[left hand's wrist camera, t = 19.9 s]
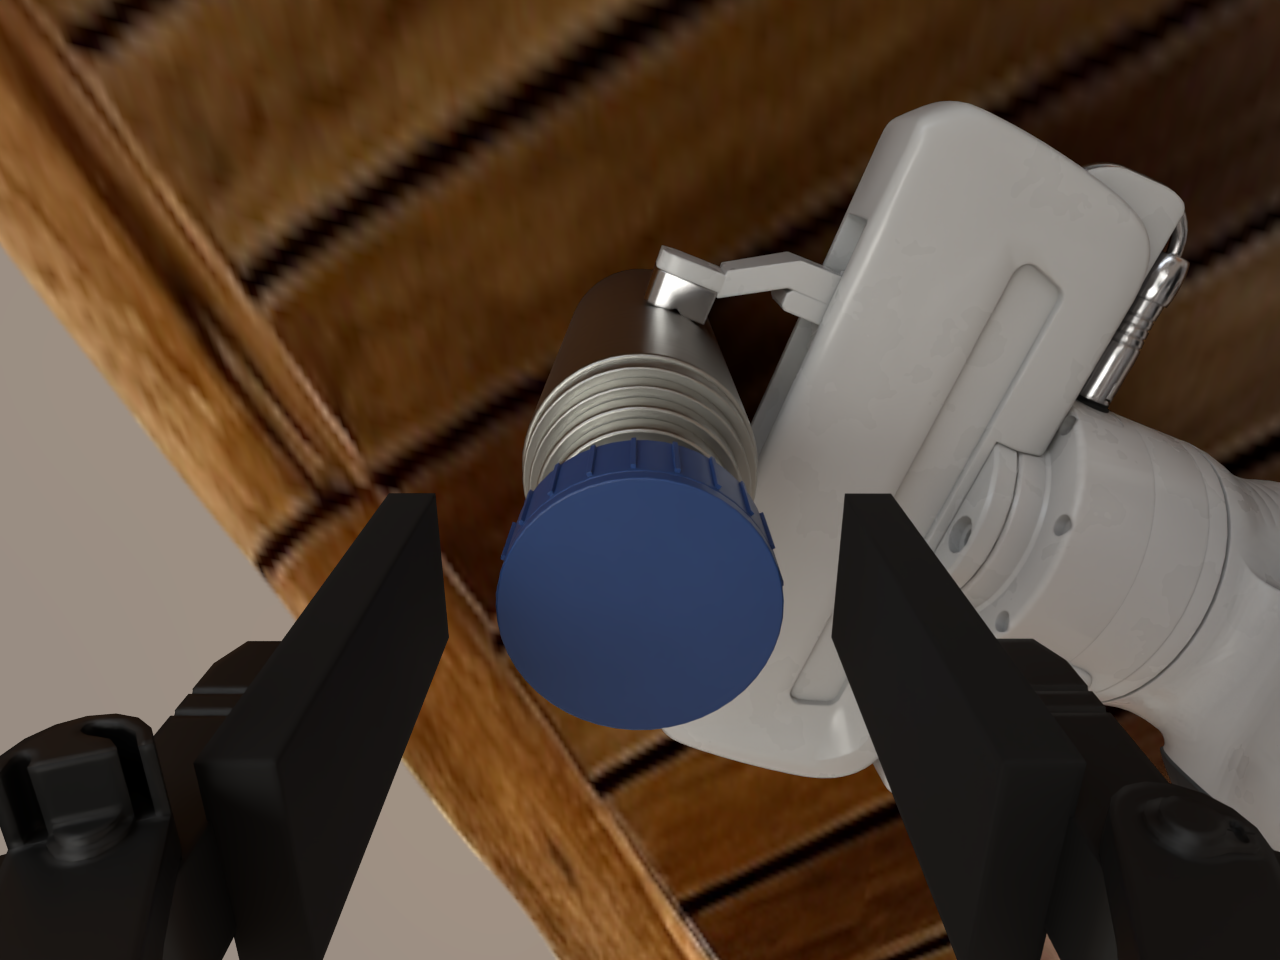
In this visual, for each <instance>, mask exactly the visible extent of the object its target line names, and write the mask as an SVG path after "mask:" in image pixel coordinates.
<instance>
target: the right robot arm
mask: <svg viewBox="0 0 1280 960" xmlns="http://www.w3.org/2000/svg"><path fill="white" fill-rule="evenodd" d="M1187 235H1188V220H1187V216H1186V212H1185V208H1184V203H1183V201H1182V200H1181V198H1180V197H1179V196H1178V195H1177V194H1176V193H1175V192H1174V191H1173V190H1172V189H1171V188H1169V187H1168V186H1167V185H1165V184H1164V183H1162V182H1160V181H1157V180H1155V179H1153V178H1151V177H1148V176H1146V175H1144V174H1142V173H1139V172H1137V171H1135V170H1133V169H1131V168H1128V167H1126V166H1124V165H1122V164H1117V163H1113V162H1096V163H1089V164H1086V165H1083V166H1079V165H1078V164H1076V163H1075V162H1073V161H1072V160H1070V159H1069V158H1067V157H1066V156H1064V155H1063V154H1061V153H1060V152H1058V151H1057V150H1055V149H1054V148H1052V147H1051V146H1049V145H1047V144H1046V143H1044V142H1043V141H1041V140H1039V139H1038V138H1036V137H1034V136H1033V135H1031V134H1029V133H1027V132H1026V131H1024V130H1022V129H1021V128H1019V127H1017V126H1015V125H1013V124H1011V123H1009V122H1007V121H1006V120H1004V119H1002V118H1000V117H998V116H996V115H994V114H992V113H990V112H988V111H986V110H984V109H982V108H979V107H977V106H975V105H972V104H969V103H964V102H958V101H941V102H936V103H931V104H928V105H925V106H922V107H920V108H917V109H915V110H912V111H910V112H907V113H905V114H903V115H900V116H898V117H896V118H894V119H893V120H891V121H890V122H889V123H888V124H887V126H886V127H885V129H884V131H883V133H882V135H881V137H880V139H879V141H878V143H877V146H876V148H875V150H874V152H873V154H872V157H871V159H870V161H869V163H868V165H867V168H866V170H865V172H864V174H863V176H862V179H861V181H860V183H859V185H858V188H857V190H856V192H855V194H854V196H853V199H852V201H851V203H850V205H849V207H848V210H847V212H846V214H845V216H844V218H843V221H842V223H841V225H840V227H839V230H838V232H837V234H836V236H835V238H834V241H833V243H832V245H831V247H830V249H829V252H828V254H827V256H826V258H825V260H824V263H823V265H820V264H818V263H815V262H813V261H810V260H808V259H805V258H803V257H800V256H798V255H795V254H793V253H790V252H782V253H776V254H770V255H764V256H758V257H752V258H746V259H740V260H734V261H728V262H722V263H721V265H720V267H719V266H717V265H714V264H712V263H709V262H707V261H704V260H702V259H699V258H697V257H694V256H692V255H689V254H687V253H684V252H682V251H679V250H677V249H674V248H670V247H667V246H663V245H662V247H661V249H660V252H659V255H658V258H657V260H656V262H655V265H654V268H653V271H652V273H651V276H650V279H649V282H648V285H647V287H646V290H645V293H644V300H645V301H647V302H648V303H650V304H652V305H654V306H656V307H659V308H663V309H667V310H670V309H674V308H677V310H678V311H679V313H680V315H682V316H684V317H686V318H688V319H690V320H692V321H695V322H698V323H700V324H703V325H704V323H705V321H706V318H707V316H708V314H709V312H710V309H711V307H712V305H713V302H714V300H715V298H716V297H717V298H723V297H730V296H737V295H744V294H751V293H758V292H765V291H772V292H771V295H772V298H773V299H774V300H775V301H776V302H777V303H778V304H779V306H780V307H781V308H782V309H783V310H784V311H786V312H789V313H791V314H793V315H796V316H798V317H799V318H798V320H797V322H796V325H795V327H794V329H793V331H792V333H791V336H790V338H789V340H788V342H787V344H786V347H785V349H784V351H783V353H782V355H781V358H780V360H779V362H778V364H777V367H776V369H775V371H774V373H773V375H772V378H771V380H770V382H769V384H768V386H767V389H766V391H765V393H764V395H763V397H762V400H761V402H760V404H759V406H758V409H757V411H756V413H755V415H754V417H753V420H752V422H751V424H750V425H751V427H752V431H753V434H754V437H755V441H756V448H757V455H758V472H757V487H756V494H755V499H754V503H755V505H756V507H757V508H758V511H759V513H761V512H763V513H764V515H765V518H766V521H767V524H768V527H769V530H770V533H771V536H772V539H773V542H774V545H775V549H773V551H774V554H775V557H776V560H777V563H778V566H779V569H780V572H781V575H782V578H783V581H784V586H783V596H784V610H783V620H782V625H781V630H780V634H779V637H778V640H777V643H776V645H775V648H774V650H773V652H772V654H771V656H770V658H769V660H768V662H767V664H766V665H765V667H764V668H763V669H762V671H761V672H760V674H759V675H758V676H757V678H756V679H755V680H754V681H753V682H752V683H751V684H750V685H749V686H748V687H747V688H746V689H745V690H744V691H743V692H742V693H741V694H740V695H738V696H737V697H736V698H735V699H734V700H732V701H731V702H729V703H728V704H726V705H725V706H723V707H722V708H720V709H719V710H717V711H715V712H713V713H711V714H709V715H707V716H704V717H702V718H700V719H697V720H694V721H691V722H689V723H686V724H682V725H677V726H673V727H669V728H661V729H662V730H663V732H664V733H665V734H666V735H668V736H669V737H670V738H672V739H674V740H676V741H678V742H680V743H682V744H685V745H687V746H690V747H693V748H696V749H698V750H702V751H705V752H708V753H711V754H714V755H718V756H721V757H725V758H728V759H732V760H735V761H739V762H742V763H746V764H750V765H754V766H758V767H762V768H766V769H770V770H775V771H779V772H784V773H789V774H794V775H799V776H805V777H813V778H836V777H842V776H847V775H850V774H853V773H856V772H859V771H861V770H863V769H865V768H866V767H868V766H869V765H871V764H872V763H873V764H874V766H875V768H876V770H877V772H878V774H879V776H880V777H881V779H882V781H883V783H884V784H885V786H886V788H887V789H888V790H889V791H890V792H892V791H891V789H890V786H889V784H888V781H887V779H886V776H885V774H884V771H883V768H882V766H881V763H880V761H879V758H878V756H877V753H876V751H875V748H874V745H873V743H872V740H871V738H870V735H869V733H868V730H867V728H866V725H865V722H864V720H863V717H862V715H861V712H860V710H859V707H858V705H857V702H856V699H855V697H854V694H853V692H852V689H851V687H850V684H849V682H848V679H847V676H846V674H845V671H844V669H843V666H842V664H841V661H840V659H839V656H838V653H837V651H836V648H835V646H834V643H833V641H832V638H831V634H832V624H833V613H834V602H835V592H836V581H837V571H838V560H839V549H840V539H841V528H842V518H843V507H844V496H845V493H891V494H892V496H893V497H894V498H895V500H896V501H897V502H898V504H899V505H900V507H901V508H902V509H903V511H904V512H905V513H906V515H907V516H908V518H909V519H910V520H911V522H912V523H913V524H914V526H915V527H916V529H917V530H918V531H919V533H920V534H921V535H922V537H923V538H924V540H925V541H926V542H927V544H928V545H929V546H930V548H931V549H932V551H933V552H934V553H935V555H936V556H937V557H938V559H939V560H940V562H941V563H942V564H943V566H944V567H945V568H946V570H947V571H948V573H949V574H950V575H951V577H952V578H953V579H954V581H955V582H956V584H957V585H958V586H959V588H960V589H961V590H962V592H963V593H964V595H965V596H966V597H967V599H968V600H969V601H970V603H971V604H972V606H973V607H974V608H975V610H976V611H977V612H978V614H979V615H980V617H981V618H982V619H983V621H984V622H985V623H986V625H987V626H988V628H989V629H990V630H991V632H992V633H993V634H994V636H995V637H996V639H1034V640H1036V641H1037V642H1039V643H1040V644H1042V645H1044V646H1045V647H1047V648H1048V649H1050V650H1051V651H1053V652H1054V653H1056V654H1057V655H1059V656H1061V657H1062V658H1064V659H1065V660H1067V661H1068V663H1069V664H1070V665H1071V666H1072V667H1073V669H1074V670H1075V671H1076V672H1077V673H1078V675H1079V676H1080V677H1081V678H1082V679H1083V681H1084V682H1085V683H1086V684H1087V685H1088V691H1093V693H1094V694H1095V695H1096V696H1097V697H1098V699H1099V700H1100V701H1101V702H1102V703H1103V705H1108V706H1114V707H1119V708H1122V709H1125V710H1128V711H1130V712H1133V713H1134V714H1136V715H1138V716H1140V717H1142V718H1143V719H1145V720H1146V721H1148V722H1149V723H1151V724H1152V725H1153V726H1155V727H1156V728H1157V729H1159V730H1160V732H1161V733H1162V735H1163V737H1164V741H1165V744H1164V746H1163V747H1161V748H1160V751H1161V755H1162V759H1163V762H1164V765H1165V768H1166V770H1167V773H1168V775H1169V777H1170V780H1171V782H1172V784H1175V785H1179V786H1182V787H1185V788H1188V789H1192V790H1195V791H1198V792H1201V793H1204V794H1206V795H1208V796H1210V797H1212V798H1214V799H1216V800H1218V801H1220V802H1222V803H1223V804H1225V805H1227V806H1229V807H1231V808H1233V809H1234V810H1236V811H1237V812H1238V813H1239V814H1241V815H1242V816H1243V817H1244V818H1246V819H1247V820H1248V821H1249V822H1251V823H1252V824H1253V825H1254V826H1256V827H1257V828H1258V830H1259V831H1260V832H1261V834H1262V835H1263V837H1264V838H1265V839H1266V841H1267V842H1268V844H1269V845H1270V847H1271V848H1272V850H1275V851H1279V852H1280V482H1274V481H1269V480H1256V479H1243V478H1239V477H1237V476H1235V475H1233V474H1232V473H1230V472H1229V471H1228V470H1227V469H1226V468H1225V467H1224V466H1223V465H1221V464H1220V463H1219V462H1218V461H1217V460H1215V459H1214V458H1213V457H1212V456H1210V455H1209V454H1208V453H1206V452H1204V451H1202V450H1201V449H1199V448H1197V447H1195V446H1193V445H1191V444H1190V443H1188V442H1185V441H1183V440H1179V439H1177V438H1175V437H1172V436H1170V435H1167V434H1165V433H1162V432H1160V431H1157V430H1154V429H1152V428H1149V427H1147V426H1144V425H1142V424H1139V423H1137V422H1134V421H1132V420H1130V419H1127V418H1125V417H1122V416H1120V415H1117V414H1115V413H1113V412H1111V411H1110V410H1108V409H1107V408H1108V406H1109V405H1110V403H1111V401H1112V400H1113V398H1114V396H1115V395H1116V393H1117V392H1118V390H1119V388H1120V387H1121V385H1122V383H1123V382H1124V380H1125V378H1126V377H1127V375H1128V373H1129V372H1130V370H1131V368H1132V367H1133V365H1134V363H1135V361H1136V359H1137V357H1138V356H1139V354H1140V351H1139V350H1140V349H1142V347H1143V345H1144V343H1145V342H1144V340H1146V338H1147V336H1148V334H1149V333H1148V331H1150V330H1151V328H1152V326H1153V325H1154V323H1153V322H1154V321H1156V320H1157V318H1158V317H1159V315H1160V313H1161V312H1162V310H1163V309H1164V308H1167V307H1168V306H1169V304H1170V303H1171V302H1172V300H1173V299H1174V297H1175V296H1176V294H1177V293H1178V291H1179V289H1180V287H1181V286H1182V284H1183V281H1184V279H1185V277H1186V274H1187V271H1188V268H1189V265H1190V263H1189V262H1188V261H1187V260H1186V259H1183V258H1181V257H1182V254H1183V252H1184V249H1185V245H1186V241H1187ZM1169 238H1170V240H1169V244H1168V248H1167V251H1166V252H1164V251H1162V250H1163V248H1164V246H1165V245H1166V243H1167V241H1168V239H1169Z"/></svg>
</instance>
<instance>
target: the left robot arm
mask: <svg viewBox="0 0 1280 960" xmlns="http://www.w3.org/2000/svg"><path fill="white" fill-rule="evenodd" d="M448 638H449V634H448V624H447V613H446V602H445V592H444V581H443V571H442V560H441V549H440V539H439V528H438V518H437V507H436V496H435V493H389V494H388V496H387V497H386V498H385V500H384V501H383V502H382V504H381V505H380V507H379V508H378V509H377V511H376V512H375V513H374V515H373V516H372V518H371V519H370V520H369V522H368V523H367V524H366V526H365V527H364V529H363V530H362V531H361V533H360V534H359V535H358V537H357V538H356V540H355V541H354V542H353V544H352V545H351V546H350V548H349V549H348V551H347V552H346V553H345V555H344V556H343V557H342V559H341V560H340V562H339V563H338V564H337V566H336V567H335V568H334V570H333V571H332V573H331V574H330V575H329V577H328V578H327V579H326V581H325V582H324V584H323V585H322V586H321V588H320V589H319V590H318V592H317V593H316V595H315V596H314V597H313V599H312V600H311V601H310V603H309V604H308V606H307V607H306V608H305V610H304V611H303V612H302V614H301V615H300V617H299V618H298V619H297V621H296V622H295V623H294V625H293V626H292V628H291V629H290V630H289V632H288V633H287V634H286V636H285V637H284V639H283V640H282V641H247V642H246V643H244V644H243V645H241V646H240V647H238V648H237V649H235V650H234V651H232V652H230V653H229V654H227V655H226V656H224V657H223V658H221V659H220V660H218V661H217V662H215V663H214V664H213V665H212V666H211V667H210V669H209V670H208V671H207V672H206V674H205V675H204V676H203V677H202V678H201V679H200V681H199V682H198V683H197V684H196V685H195V687H194V688H193V693H192V694H188V695H187V696H186V698H185V699H184V700H183V701H182V702H181V704H180V705H179V706H178V707H177V709H176V710H175V715H174V716H170V717H169V718H168V719H167V721H166V722H165V723H164V724H163V725H162V727H161V728H160V729H159V730H158V732H157V733H156V734H155V735H154V736H153V733H152V729H151V727H150V726H148V725H147V724H146V723H145V722H143V721H142V720H141V719H139V718H137V717H132V716H126V715H121V714H105V715H94V716H86V717H82V718H78V719H75V720H71V721H67V722H64V723H60V724H56V725H54V726H52V727H49V728H47V729H45V730H43V731H41V732H39V733H36V734H34V735H32V736H30V737H28V738H25V739H24V740H22V741H21V742H19V743H18V744H17V745H15V746H14V747H12V748H11V749H9V750H8V751H6V752H5V753H4V754H2V755H1V756H0V828H1V831H2V833H3V836H4V839H5V842H6V845H7V848H8V852H7V854H4V855H1V856H0V960H222V959H223V957H224V955H225V953H226V951H227V949H228V947H229V945H230V943H231V941H232V939H233V937H234V939H235V943H236V947H237V951H238V956H239V960H323V958H324V955H325V953H326V950H327V948H328V945H329V942H330V940H331V937H332V935H333V932H334V930H335V927H336V924H337V922H338V919H339V917H340V914H341V912H342V909H343V907H344V904H345V901H346V899H347V896H348V894H349V891H350V889H351V886H352V884H353V881H354V878H355V876H356V873H357V871H358V868H359V865H360V863H361V860H362V858H363V855H364V853H365V850H366V848H367V845H368V843H369V840H370V838H371V835H372V832H373V830H374V827H375V825H376V822H377V820H378V817H379V815H380V812H381V809H382V807H383V804H384V802H385V799H386V797H387V794H388V791H389V789H390V786H391V784H392V781H393V779H394V776H395V773H396V771H397V768H398V766H399V763H400V761H401V758H402V756H403V753H404V751H405V748H406V745H407V743H408V740H409V738H410V735H411V733H412V730H413V728H414V725H415V722H416V720H417V717H418V715H419V712H420V710H421V707H422V705H423V702H424V699H425V697H426V694H427V692H428V689H429V687H430V684H431V682H432V679H433V676H434V674H435V671H436V669H437V666H438V664H439V661H440V659H441V656H442V653H443V651H444V648H445V646H446V643H447V641H448ZM831 638H832V641H833V643H834V646H835V648H836V651H837V653H838V656H839V659H840V661H841V664H842V666H843V669H844V671H845V674H846V676H847V679H848V682H849V684H850V687H851V689H852V692H853V694H854V697H855V699H856V702H857V705H858V707H859V710H860V712H861V715H862V717H863V720H864V722H865V725H866V728H867V730H868V733H869V735H870V738H871V740H872V743H873V745H874V748H875V751H876V753H877V756H878V758H879V761H880V763H881V766H882V768H883V771H884V774H885V776H886V779H887V781H888V784H889V786H890V789H891V791H892V794H893V797H894V799H895V802H896V804H897V807H898V809H899V812H900V815H901V817H902V820H903V822H904V825H905V827H906V830H907V832H908V835H909V838H910V840H911V843H912V845H913V848H914V850H915V853H916V855H917V858H918V861H919V863H920V866H921V868H922V871H923V873H924V876H925V878H926V881H927V884H928V886H929V889H930V891H931V894H932V896H933V899H934V901H935V904H936V907H937V909H938V912H939V914H940V917H941V919H942V922H943V924H944V927H945V930H946V932H947V935H948V937H949V940H950V942H951V945H952V948H953V950H954V953H955V955H956V958H957V960H1041V956H1042V952H1043V947H1044V943H1045V939H1046V935H1048V937H1049V939H1050V941H1051V943H1052V945H1053V947H1054V948H1055V950H1056V952H1057V954H1058V956H1059V958H1060V960H1280V852H1279V851H1275V850H1272V848H1271V847H1270V845H1269V844H1268V842H1267V841H1266V839H1265V838H1264V837H1263V835H1262V834H1261V832H1260V831H1259V830H1258V828H1257V827H1256V826H1254V825H1253V824H1252V823H1251V822H1249V821H1248V820H1247V819H1246V818H1244V817H1243V816H1242V815H1241V814H1239V813H1238V812H1237V811H1236V810H1234V809H1233V808H1231V807H1229V806H1227V805H1225V804H1223V803H1222V802H1220V801H1218V800H1216V799H1214V798H1212V797H1210V796H1208V795H1206V794H1204V793H1201V792H1198V791H1195V790H1192V789H1188V788H1185V787H1182V786H1179V785H1175V784H1169V783H1168V781H1167V780H1166V779H1165V778H1164V777H1163V775H1162V774H1161V773H1160V772H1159V771H1158V769H1157V768H1156V767H1155V766H1154V765H1153V763H1152V762H1151V761H1150V760H1149V759H1148V757H1147V756H1146V755H1145V754H1144V753H1143V751H1142V750H1141V749H1140V748H1139V747H1138V745H1137V744H1136V743H1135V742H1134V741H1133V739H1132V738H1131V737H1130V736H1129V735H1128V733H1127V732H1126V731H1125V730H1124V729H1123V727H1122V726H1121V725H1120V724H1119V723H1118V721H1117V720H1116V719H1115V718H1114V717H1113V715H1112V714H1111V713H1106V707H1105V706H1104V705H1103V703H1102V702H1101V701H1100V700H1099V699H1098V697H1097V696H1096V695H1095V694H1094V693H1093V691H1088V685H1087V684H1086V683H1085V682H1084V681H1083V679H1082V678H1081V677H1080V676H1079V675H1078V673H1077V672H1076V671H1075V670H1074V669H1073V667H1072V666H1071V665H1070V664H1069V663H1068V661H1067V660H1065V659H1064V658H1062V657H1061V656H1059V655H1057V654H1056V653H1054V652H1053V651H1051V650H1050V649H1048V648H1047V647H1045V646H1044V645H1042V644H1040V643H1039V642H1037V641H1036V640H1034V639H996V637H995V636H994V634H993V633H992V632H991V630H990V629H989V628H988V626H987V625H986V623H985V622H984V621H983V619H982V618H981V617H980V615H979V614H978V612H977V611H976V610H975V608H974V607H973V606H972V604H971V603H970V601H969V600H968V599H967V597H966V596H965V595H964V593H963V592H962V590H961V589H960V588H959V586H958V585H957V584H956V582H955V581H954V579H953V578H952V577H951V575H950V574H949V573H948V571H947V570H946V568H945V567H944V566H943V564H942V563H941V562H940V560H939V559H938V557H937V556H936V555H935V553H934V552H933V551H932V549H931V548H930V546H929V545H928V544H927V542H926V541H925V540H924V538H923V537H922V535H921V534H920V533H919V531H918V530H917V529H916V527H915V526H914V524H913V523H912V522H911V520H910V519H909V518H908V516H907V515H906V513H905V512H904V511H903V509H902V508H901V507H900V505H899V504H898V502H897V501H896V500H895V498H894V497H893V496H892V494H891V493H845V496H844V507H843V518H842V528H841V539H840V549H839V560H838V571H837V581H836V592H835V602H834V613H833V624H832V634H831Z"/></svg>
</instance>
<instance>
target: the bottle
mask: <svg viewBox="0 0 1280 960" xmlns="http://www.w3.org/2000/svg"><path fill="white" fill-rule="evenodd" d="M652 271H653V270H648V269H631V270H626V271H621V272H618V273H615V274H613V275H611V276H608V277H606V278H604V279H603V280H601V281H600V282H598V283H597V284H596V285H595V286H593V287H592V288H591V289H590V290H589V291H588V292H587V293H586V295H585V296H584V297H583V298H582V300H581V301H580V303H579V304H578V306H577V308H576V310H575V312H574V315H573V317H572V320H571V322H570V325H569V327H568V330H567V332H566V335H565V337H564V340H563V342H562V345H561V347H560V350H559V352H558V355H557V357H556V360H555V362H554V365H553V367H552V370H551V372H550V375H549V377H548V380H547V382H546V385H545V387H544V390H543V392H542V395H541V397H540V400H539V402H538V405H537V407H536V410H535V412H534V415H533V417H532V420H531V422H530V425H529V428H528V431H527V434H526V437H525V442H524V448H523V457H522V470H523V487H524V494H525V498H526V497H527V494H528V492H529V491H530V489H531V490H532V491H534V490H535V488H536V487H537V486H538V484H539V483H540V482H541V481H542V480H543V479H544V478H545V477H546V476H547V475H548V474H549V473H550V472H552V471H553V470H554V467H555V465H556V464H557V463H560V464H562V463H563V462H565V461H567V460H569V459H570V458H572V457H574V456H576V455H577V454H580V453H582V452H584V451H587V450H589V449H590V447H591V446H592V445H596V447H598V446H601V445H605V444H609V443H613V442H620V441H627V440H631V438H636V440H651V441H660V442H667V443H671V444H672V442H673V441H674V442H678V445H679V446H683V447H685V448H688V449H691V450H693V451H696V452H698V453H700V454H702V455H704V456H706V457H708V458H710V457H711V456H712V457H714V458H715V460H716V463H718V464H719V465H720V466H722V467H723V468H725V469H726V470H727V471H728V472H729V473H730V474H731V475H732V476H734V477H735V478H736V479H737V480H738V481H739V482H741V481H743V482H744V483H745V486H746V489H747V492H748V493H749V495H750V497H751V498H752V500H753V502H754V499H755V494H756V487H757V472H758V455H757V448H756V441H755V437H754V434H753V431H752V427H751V425H750V422H749V420H748V417H747V415H746V412H745V410H744V407H743V405H742V402H741V400H740V397H739V395H738V392H737V390H736V387H735V385H734V382H733V380H732V377H731V375H730V372H729V370H728V367H727V365H726V362H725V360H724V357H723V355H722V352H721V350H720V347H719V344H718V342H717V339H716V337H715V334H714V332H713V329H712V327H711V324H710V322H709V319H708V317H707V318H706V321H705V323H704V325H703V324H700V323H698V322H695V321H692V320H690V319H688V318H686V317H684V316H682V315H680V313H679V311H678V310H677V308H674V309H670V310H667V309H663V308H659V307H656V306H654V305H652V304H650V303H648V302H647V301H645V300H644V293H645V290H646V287H647V285H648V282H649V279H650V276H651V273H652Z"/></svg>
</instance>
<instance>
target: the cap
mask: <svg viewBox="0 0 1280 960" xmlns="http://www.w3.org/2000/svg"><path fill="white" fill-rule="evenodd" d="M773 549H775V545H774V542H773V539H772V536H771V533H770V530H769V527H768V524H767V521H766V518H765V515H764V513H763V512H761V513H759V511H758V508H757V507H756V505H755V503H754V502H753V500H752V498H751V497H750V495H749V493H748V492H747V489H746V486H745V483H744V482H743V481H741V482H739V481H738V480H737V479H736V478H735V477H734V476H732V475H731V474H730V473H729V472H728V471H727V470H726V469H725V468H723V467H722V466H720V465H719V464H718V463H716V460H715V458H714V457H712V456H711V457H710V458H708V457H706V456H704V455H702V454H700V453H698V452H696V451H693V450H691V449H688V448H685V447H683V446H679V445H678V442H674V441H673V442H672V444H671V443H667V442H660V441H651V440H636V438H631V440H627V441H620V442H613V443H609V444H605V445H601V446H598V447H596V445H592V446H591V447H590V449H589V450H587V451H584V452H582V453H580V454H577V455H576V456H574V457H572V458H570V459H569V460H567V461H565V462H563V463H562V464H560V463H557V464H556V465H555V467H554V470H553V471H552V472H550V473H549V474H548V475H547V476H546V477H545V478H544V479H543V480H542V481H541V482H540V483H539V484H538V486H537V487H536V488H535V490H534V491H532V490H531V489H530V491H529V492H528V494H527V497H526V500H525V503H524V506H523V509H522V510H521V513H520V515H519V518H518V521H517V523H515V522H513V523H512V526H511V529H510V532H509V535H508V538H507V541H506V544H505V547H504V550H503V553H502V556H501V559H502V560H504V563H503V565H502V569H501V572H500V576H499V581H498V585H497V591H496V611H497V622H498V626H499V630H500V634H501V638H502V640H503V643H504V645H505V648H506V650H507V653H508V655H509V656H510V658H511V660H512V662H513V663H514V665H515V667H516V668H517V670H518V671H519V672H520V674H521V675H522V676H523V677H524V679H525V680H526V681H527V682H528V683H529V684H530V685H531V686H532V687H533V688H534V689H535V690H536V691H537V692H538V693H539V694H540V695H541V696H543V697H544V698H545V699H547V700H548V701H549V702H550V703H552V704H553V705H555V706H557V707H558V708H560V709H562V710H563V711H565V712H567V713H569V714H571V715H574V716H576V717H578V718H580V719H582V720H586V721H589V722H592V723H595V724H598V725H602V726H607V727H612V728H618V729H629V730H653V729H661V728H669V727H673V726H677V725H682V724H686V723H689V722H691V721H694V720H697V719H700V718H702V717H704V716H707V715H709V714H711V713H713V712H715V711H717V710H719V709H720V708H722V707H723V706H725V705H726V704H728V703H729V702H731V701H732V700H734V699H735V698H736V697H737V696H738V695H740V694H741V693H742V692H743V691H744V690H745V689H746V688H747V687H748V686H749V685H750V684H751V683H752V682H753V681H754V680H755V679H756V678H757V676H758V675H759V674H760V672H761V671H762V669H763V668H764V667H765V665H766V664H767V662H768V660H769V658H770V656H771V654H772V652H773V650H774V648H775V645H776V643H777V640H778V637H779V634H780V630H781V625H782V620H783V610H784V596H783V586H784V581H783V578H782V575H781V572H780V569H779V566H778V563H777V560H776V557H775V554H774V551H773Z"/></svg>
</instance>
